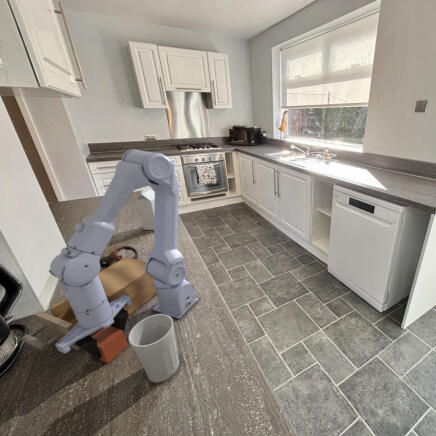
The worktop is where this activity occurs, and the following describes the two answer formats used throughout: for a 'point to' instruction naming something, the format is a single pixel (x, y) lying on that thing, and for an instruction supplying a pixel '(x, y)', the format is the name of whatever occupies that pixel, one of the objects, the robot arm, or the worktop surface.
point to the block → (110, 342)
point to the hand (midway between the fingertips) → (109, 346)
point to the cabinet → (128, 282)
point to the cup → (156, 346)
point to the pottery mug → (116, 256)
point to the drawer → (54, 325)
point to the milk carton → (147, 208)
